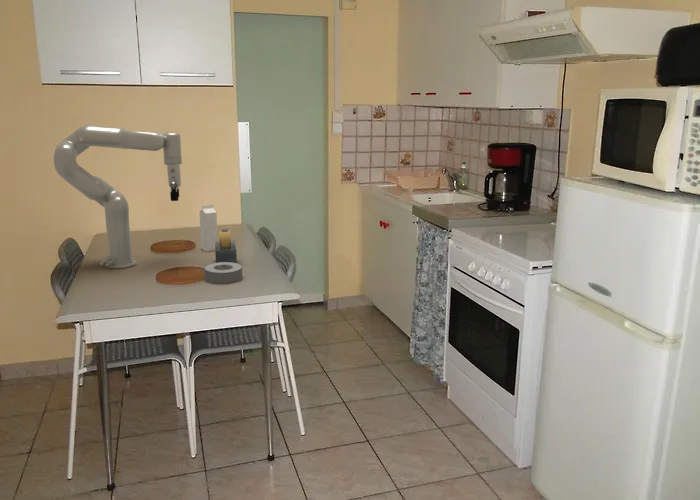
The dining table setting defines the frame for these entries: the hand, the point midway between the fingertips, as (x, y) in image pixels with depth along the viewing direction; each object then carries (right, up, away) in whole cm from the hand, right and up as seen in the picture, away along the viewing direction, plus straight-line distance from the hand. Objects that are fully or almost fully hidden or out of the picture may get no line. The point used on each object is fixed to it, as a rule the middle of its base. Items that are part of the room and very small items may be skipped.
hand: (175, 199), depth 270 cm
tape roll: (+26, -35, -20) cm, 48 cm away
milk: (+9, -23, +26) cm, 36 cm away
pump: (+23, -21, -1) cm, 31 cm away
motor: (+22, -29, +3) cm, 37 cm away
